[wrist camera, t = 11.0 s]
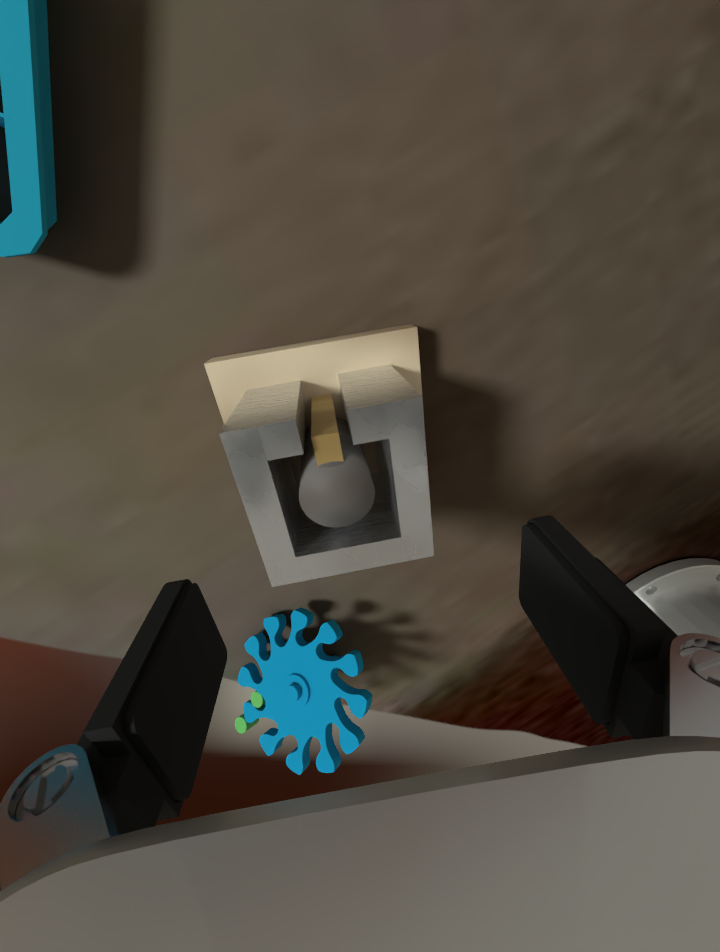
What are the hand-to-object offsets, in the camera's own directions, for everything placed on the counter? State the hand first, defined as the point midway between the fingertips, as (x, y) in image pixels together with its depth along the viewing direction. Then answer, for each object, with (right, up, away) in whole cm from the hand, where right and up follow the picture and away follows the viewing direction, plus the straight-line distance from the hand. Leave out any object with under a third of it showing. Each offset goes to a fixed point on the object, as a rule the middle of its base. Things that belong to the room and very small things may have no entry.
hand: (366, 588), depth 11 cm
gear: (-5, -9, +18) cm, 21 cm away
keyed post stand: (-2, +6, +10) cm, 12 cm away
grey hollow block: (-2, +5, +9) cm, 10 cm away
